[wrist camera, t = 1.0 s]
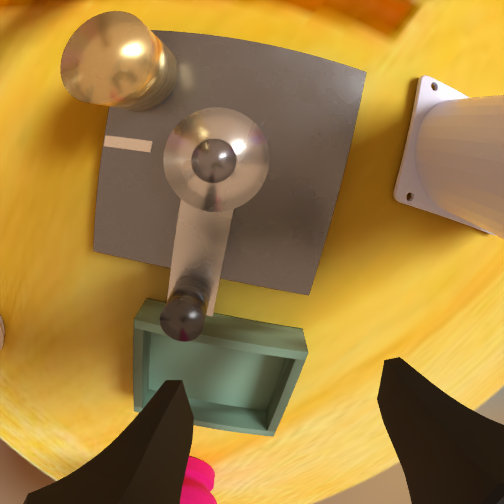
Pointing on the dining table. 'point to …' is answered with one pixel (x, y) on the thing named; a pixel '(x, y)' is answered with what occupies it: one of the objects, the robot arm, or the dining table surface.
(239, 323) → the tray
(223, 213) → the crank
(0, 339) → the energy drink can
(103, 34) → the pin
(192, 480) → the pepper mill
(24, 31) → the dining table surface
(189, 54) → the crank base
